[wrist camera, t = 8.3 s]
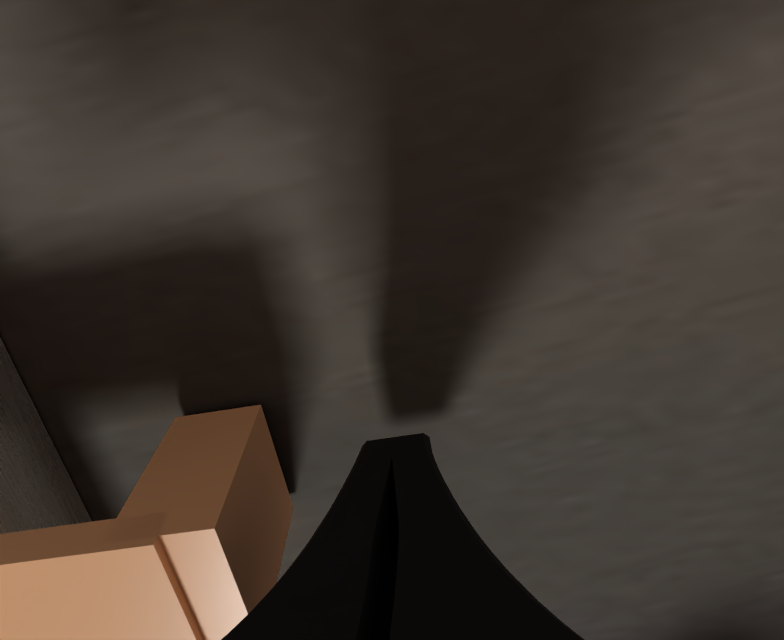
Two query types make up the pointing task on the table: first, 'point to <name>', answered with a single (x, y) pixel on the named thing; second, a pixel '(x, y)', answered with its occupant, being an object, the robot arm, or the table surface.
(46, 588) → the block
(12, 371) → the tongs lower arm
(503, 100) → the table surface
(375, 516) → the robot arm
